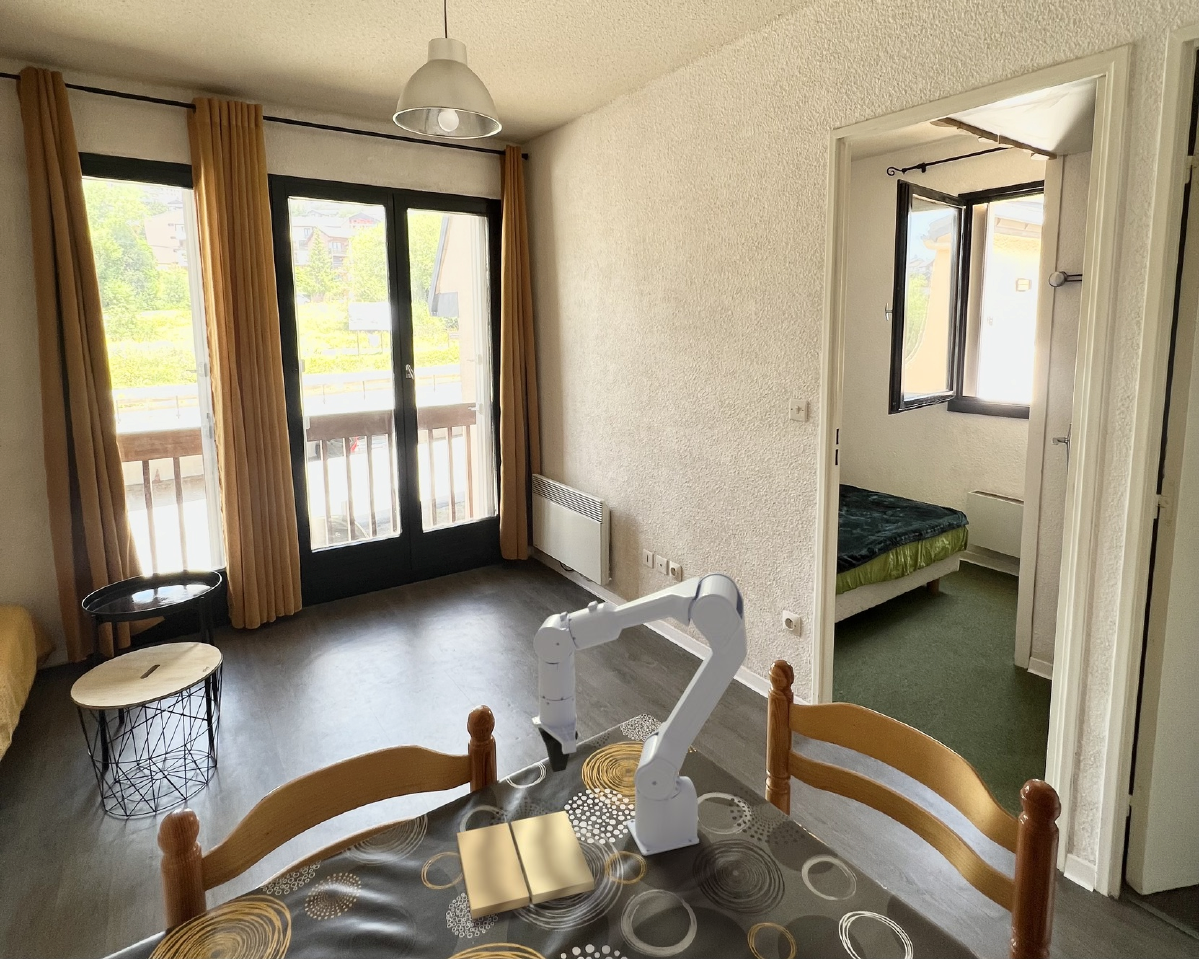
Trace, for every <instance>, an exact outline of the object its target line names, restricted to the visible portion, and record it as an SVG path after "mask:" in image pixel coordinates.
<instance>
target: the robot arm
mask: <svg viewBox="0 0 1199 959" xmlns="http://www.w3.org/2000/svg"><path fill="white" fill-rule="evenodd" d="M744 602H745V601H744V598H743V595H742V593H741V592H740V589H739V587H738V585H737V582H736V581H735V580H734V579H733V578H732V577H731V576H729V575H728V574H725V573H722V572H710V573H708V574H706V575H704V576H702V577H701V576H694V577H691V578H688V579H686V580H683V581H681V582H679V583H677V584H674V585H671V586H669V587H666V588H664V589H661V590H659V591H656V592H653V593H650V594H649V595H645V596H642V597H639V598H637V599H634V600H631V601H629V602H626V603H623V604H621V605H619V606H616V605H614V604H612V603H609V602H606V601H605V602H602V603H598V601H597V600H594V601H592V602H589V604H588V605H587V607H585V608H583V609H580V610H579V609H578V610H577V611H574V612H570V613H568V612H567V611H564V612H561V613H558V614H557V613H556V614H552V615H549V616H548V617H547V618H546V619H545V620H544V622H543V623H542V624H541V626H540V627H539V629H538V630H537V632H536V633H535V635H534V638H533V641H532V646H533V647H532V648H533V650H534V652H535V654H536V655H537V657H538V658H537V659H538V660H537V661H538V665H537V666H538V667H537V670H538V672H537V675H538V678H537V679H538V680H537V681H538V716H535V717H532V718H531V724H532V726H533V727H534V728H536V729H538V732H539V734H540V736H541V738H542V741H543V743H544V745H545V749H546V751H547V757H548V761H549V765H550V767H551V770H552V772H553V773H556V772H562V771H565V770H566V769H567V766H568V762H569V758H570V754H572V753H576V752H577V740H578V738H579V734H578V731H577V723H578V714H577V713H576V711H577V710H576V707H577V706H576V663H575V652H576V651H582V650H585V649H588V648H589V649H590V648H592V647H595V646H598V645H602V644H605V643H608V642H612V641H615V640H617V639H618V638H619V637H620V634H621V632H622V630H623V629H624V630H625V629H627V628H630V627H631V628H632V627H635V626H639V625H644V624H647V623H652V622H655V621H660V620H664V619H668V618H673V619H674V620H675V621H677V622H679V623H680V624H682V625H684V626H685V627H689V626H690V624H691V621H692V623H693V625H694V627H695V628H696V629H697V631H699V633H700V634H701V635H702V636H703V637H704V638H705V639H706V641H707V642H708V645H709V647H710V650H709V651H708V652H707V655H706V656H705V657H704V659H703V661H702V662H701V664H700V666H699V667H698V668H697V671H696V672H695V674H694V676H693V677H692V679H691V680H690V682H689V683H688V685H687V687H686V689H685V690H684V692H683V693H682V695H681V697H680V698H679V700H678V702H677V703H676V704H675V706H674V708H673V709H672V711H671V713H670V714H669V716H668V718H666V721H663V722H662V723H660V726H659V727H658V729H657V730H655V731H654V732H652V733H650V734H649V735H647V736H646V738H645V739H644V741H643V744H642V747H641V748H642V750H641V754H640V759H639V762H638V766H637V769H636V770H635V771H634V772H635V773H634V777H633V782H634V788H635V790H634V792H635V793H634V810H635V811H634V818H633V819H628V820H626V822H625V824H626V826H627V829H628V830H629V832H630V834H631V836H632V838H633V840H634V842H635V843H636V845H637V847H638V849H639V851H640V853H641V855H643V856H650V855H654V854H660V853H663V852H666V851H671V850H675V849H680V848H683V847H687V846H693V845H696V844H699V843H700V838H699V837H698V822H699V821H698V818H699V801H698V796H697V791H696V788H695V786H694V783H693V781H692V780H691V778H690V777H688V776H681V775H679V773H680V771H681V769H682V767H683V763H684V761H685V759H686V756H687V753H688V751H689V749H690V747H691V745H692V743H693V742H694V741H695V738H696V737H697V736H698V735H699V732H700V731H701V729H702V728H703V726H704V724H705V723H706V721H707V720H708V718H709V717H710V715H711V713H712V712H713V710H714V709H715V707H716V706H717V705H718V702H719V701H720V700H721V698H722V696H723V694H724V693H725V692H726V690H727V689H728V687H729V686H730V683H731V682H732V681H733V680H734V678H735V676H736V674H737V673H738V671H739V669H740V668H741V666H742V664H744V662H745V660H746V657H747V654H748V640H747V638H748V637H747V629H746V628H747V627H746V619H745V618H746V616H745V603H744Z"/></svg>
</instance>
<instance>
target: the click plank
mask: <svg viewBox="0 0 1199 959" xmlns="http://www.w3.org/2000/svg"><path fill="white" fill-rule="evenodd" d="M572 826H573V825H572V824H571V822H570V819H569V816H568V813H567V811H566V810H562V811H558V812H552V813H547V814H543V815H538V816H534V817H528V818H523V819H518V820H514V821H510V832H511V836H512V839H513V843H514V846H515V849H516V853H517V856H518V859H519V863H520V866H521V870H522V873H523V876H524V880H525V883H526V887H527V890H528V893H529V897H530V899H531V902H532V905H537V904H539V903H543V902H548V901H552V900H556V899H560V898H561V899H562V898H564V897H568V896H572V895H573V896H574V895H577V894H581V893H585V892H589V891H594V890H595V879H594V877H593V874H592V871H591V869H590V867H589V864H588V862H587V860H586V857H585V855H584V852H583V850H582V848H581V846H580V843H579V840H578V838H577V835H576V833H575V831H574V828H573V827H572Z"/></svg>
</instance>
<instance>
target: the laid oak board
mask: <svg viewBox="0 0 1199 959" xmlns="http://www.w3.org/2000/svg"><path fill="white" fill-rule="evenodd" d="M456 839H457V847H458V852H459V858H460V863H461V868H462V872H463V880H464V883H465V889H466V894H467V898H468V904H469V909H470V914H471V919H472V920H474V919H478V918H482V917H486V916H491V915H495V914H498V913H502V912H507V911H511V910H512V911H513V910H515V909H519V908H520V909H521V908H524V907H527V906H530V892H529V889H528V886H527V882H526V879H525V876H524V872H523V869H522V866H521V862H520V859H519V855H518V852H517V849H516V845H515V842H514V839H513V835H512V832H511V828H510V825H509V823H508V822H505V823H503V822H502V823H498V824H494V825H490V826H485V827H480V828H475V829H470V830H466V831H460V832H456Z"/></svg>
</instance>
